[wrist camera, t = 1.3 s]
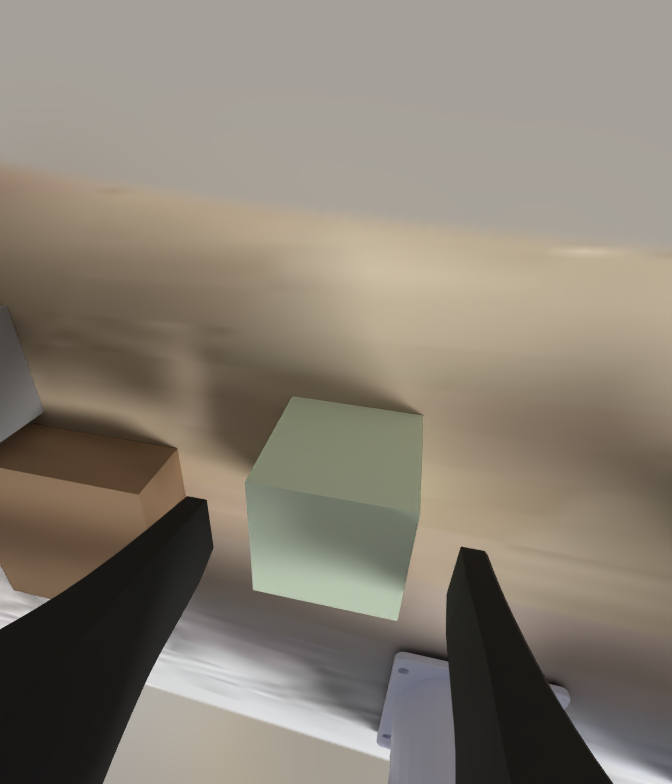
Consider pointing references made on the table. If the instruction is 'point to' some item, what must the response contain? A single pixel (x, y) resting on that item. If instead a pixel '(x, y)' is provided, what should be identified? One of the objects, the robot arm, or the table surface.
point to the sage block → (336, 506)
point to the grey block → (14, 381)
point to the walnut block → (77, 502)
